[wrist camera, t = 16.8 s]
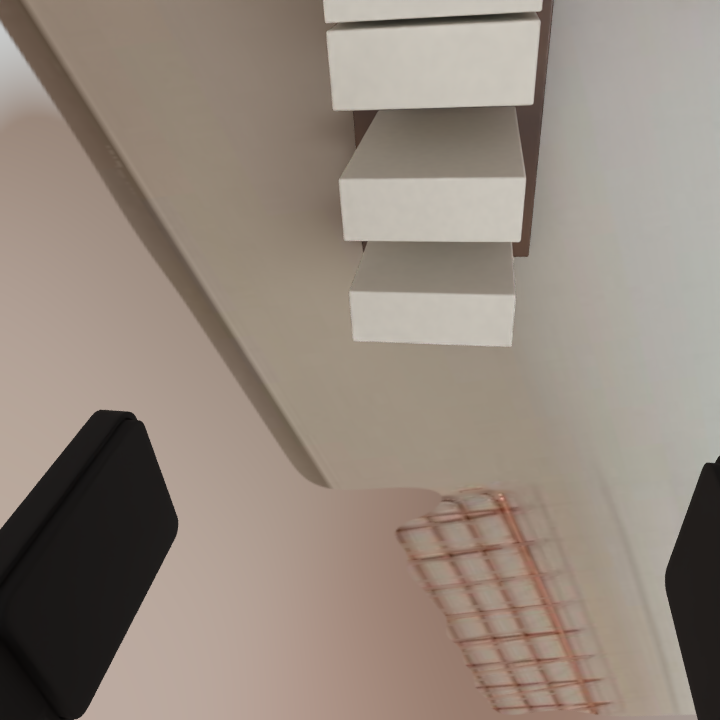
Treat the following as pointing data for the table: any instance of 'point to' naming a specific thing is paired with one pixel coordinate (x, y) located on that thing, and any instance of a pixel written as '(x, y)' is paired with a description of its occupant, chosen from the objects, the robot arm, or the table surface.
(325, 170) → the table surface
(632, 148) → the table surface
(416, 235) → the beige box
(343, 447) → the table surface
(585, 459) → the table surface
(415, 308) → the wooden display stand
